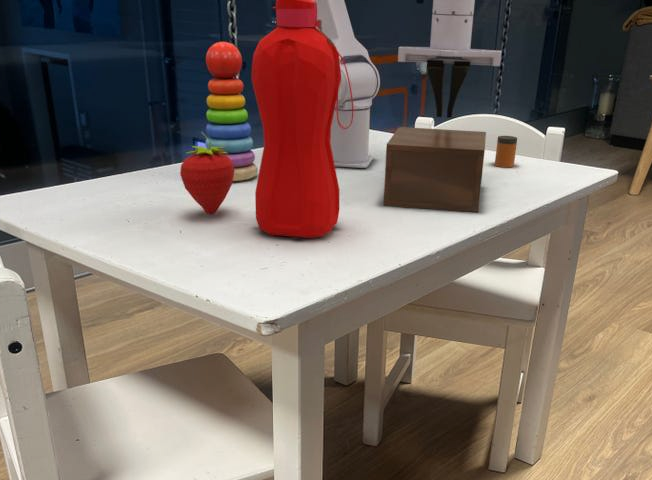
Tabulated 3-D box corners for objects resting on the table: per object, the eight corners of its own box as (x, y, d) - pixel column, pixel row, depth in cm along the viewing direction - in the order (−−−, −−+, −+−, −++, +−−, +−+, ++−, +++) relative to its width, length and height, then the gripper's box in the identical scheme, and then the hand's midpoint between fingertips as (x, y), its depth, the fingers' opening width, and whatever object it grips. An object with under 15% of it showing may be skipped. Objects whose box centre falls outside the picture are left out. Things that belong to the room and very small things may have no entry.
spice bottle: (494, 166, 121) (497, 138, 119) (494, 162, 124) (497, 135, 121) (513, 168, 120) (517, 139, 118) (513, 164, 123) (517, 136, 121)
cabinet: (395, 182, 109) (398, 126, 105) (479, 188, 107) (486, 131, 104) (383, 205, 97) (386, 143, 94) (477, 212, 95) (484, 150, 92)
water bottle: (341, 245, 82) (346, -2, 70) (249, 236, 84) (239, -6, 72) (357, 222, 90) (364, -2, 78) (272, 215, 92) (267, -6, 80)
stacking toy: (267, 174, 111) (263, 42, 103) (238, 185, 105) (232, 45, 96) (224, 168, 114) (217, 39, 106) (193, 178, 108) (183, 41, 99)
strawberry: (172, 217, 90) (164, 134, 85) (210, 204, 95) (205, 126, 91) (210, 225, 87) (204, 140, 83) (247, 211, 93) (243, 130, 88)
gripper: (397, 13, 98) (392, 117, 104) (505, 17, 96) (493, 123, 102) (403, 12, 104) (398, 110, 111) (505, 16, 102) (494, 115, 109)
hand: (444, 116), depth 107 cm, fingers closed
